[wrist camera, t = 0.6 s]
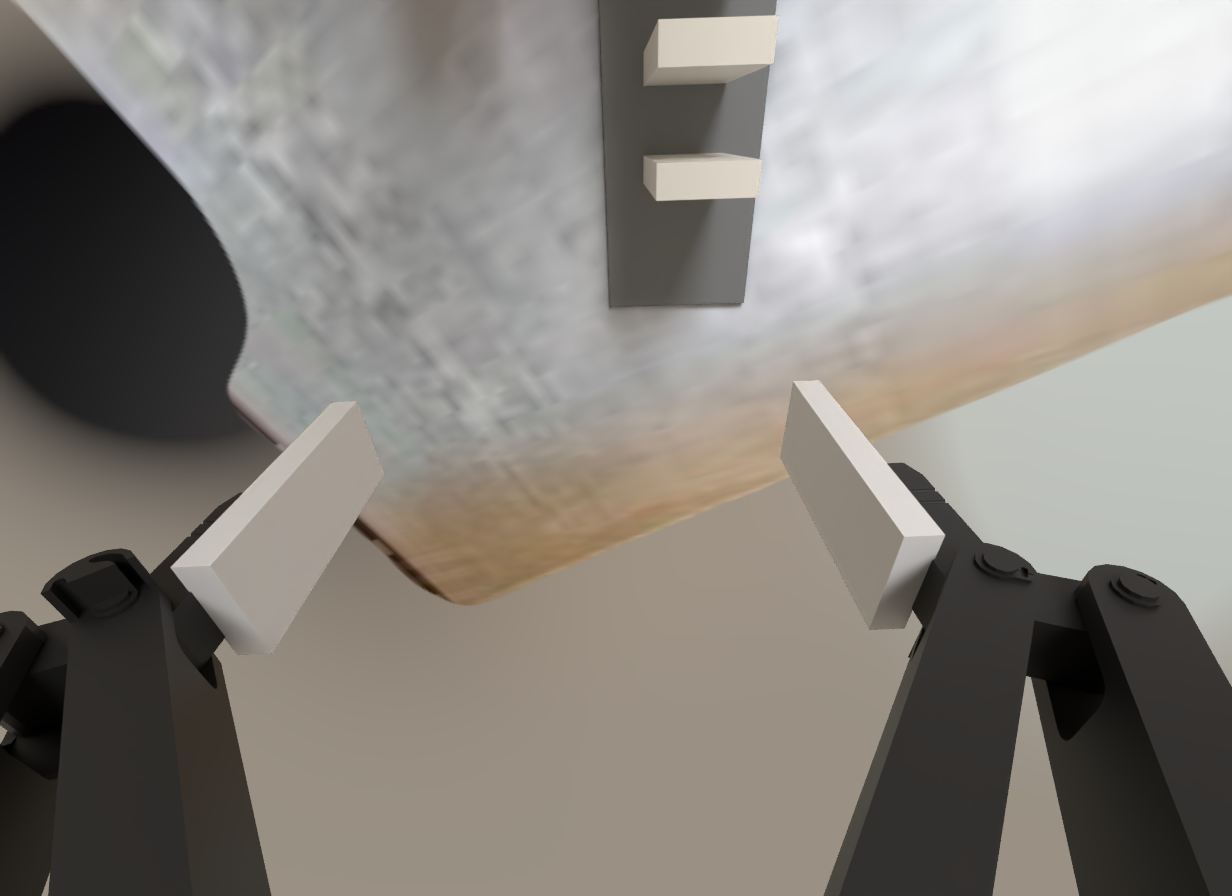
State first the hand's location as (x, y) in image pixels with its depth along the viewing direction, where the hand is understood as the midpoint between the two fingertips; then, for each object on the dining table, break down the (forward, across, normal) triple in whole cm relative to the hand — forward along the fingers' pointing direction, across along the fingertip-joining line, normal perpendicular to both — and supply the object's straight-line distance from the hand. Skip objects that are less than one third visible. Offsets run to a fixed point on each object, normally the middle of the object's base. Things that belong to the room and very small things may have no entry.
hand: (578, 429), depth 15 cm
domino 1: (+24, +6, +10) cm, 27 cm away
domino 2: (+24, +6, +5) cm, 25 cm away
